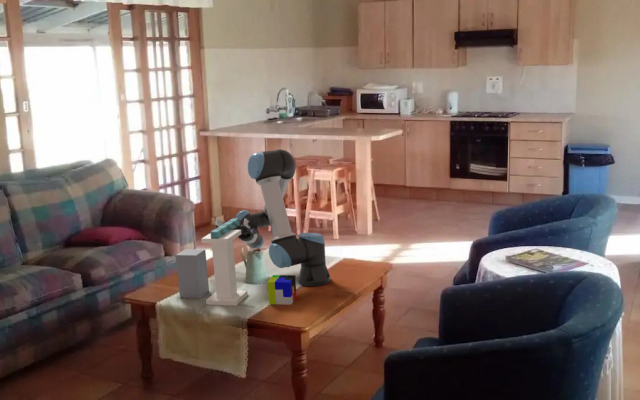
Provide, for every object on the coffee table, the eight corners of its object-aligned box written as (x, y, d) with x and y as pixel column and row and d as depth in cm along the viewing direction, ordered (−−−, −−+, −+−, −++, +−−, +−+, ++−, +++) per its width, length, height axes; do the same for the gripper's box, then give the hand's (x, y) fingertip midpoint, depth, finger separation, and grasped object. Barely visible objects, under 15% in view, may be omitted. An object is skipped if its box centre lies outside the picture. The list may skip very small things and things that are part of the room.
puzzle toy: (291, 304, 298) (289, 282, 296) (268, 304, 300) (267, 282, 298) (296, 296, 307) (295, 275, 305) (274, 296, 309) (273, 275, 307)
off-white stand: (219, 293, 318) (214, 229, 312) (248, 294, 315) (243, 229, 309) (205, 305, 303) (199, 238, 297) (235, 306, 299) (229, 238, 294)
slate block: (189, 290, 325) (185, 249, 321) (209, 291, 322) (205, 249, 319) (179, 297, 315) (175, 255, 312) (200, 298, 313) (196, 255, 309)
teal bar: (233, 224, 320) (233, 218, 320) (239, 224, 320) (239, 218, 319) (211, 238, 296) (210, 231, 295) (217, 238, 295) (217, 231, 295)
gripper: (270, 241, 328) (255, 229, 309) (221, 241, 335) (204, 229, 315) (272, 226, 331) (257, 213, 311) (223, 226, 337) (206, 213, 318)
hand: (230, 221), depth 313 cm, fingers open, 13 cm apart
